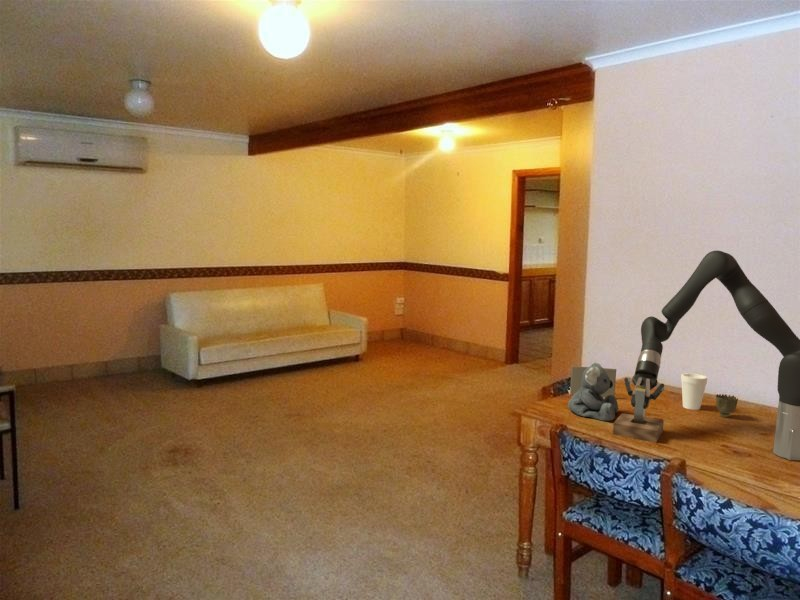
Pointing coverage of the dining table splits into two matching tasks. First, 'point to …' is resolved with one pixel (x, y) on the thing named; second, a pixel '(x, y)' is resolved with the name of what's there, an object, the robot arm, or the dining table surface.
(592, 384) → the koala plush
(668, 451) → the dining table surface
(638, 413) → the blue-grey rectangular block
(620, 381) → the dining table surface
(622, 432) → the flat wooden box
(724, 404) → the cup
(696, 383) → the foam cup
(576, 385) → the grey box
